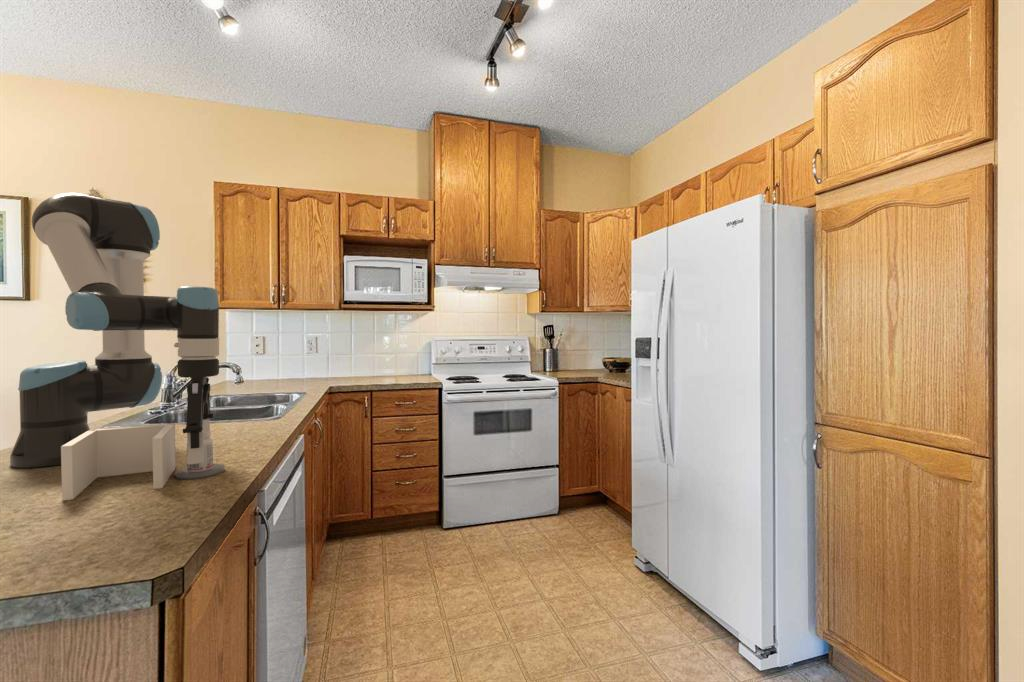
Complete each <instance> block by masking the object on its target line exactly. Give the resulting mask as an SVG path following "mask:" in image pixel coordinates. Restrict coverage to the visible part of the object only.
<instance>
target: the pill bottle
mask: <svg viewBox="0 0 1024 682" xmlns="http://www.w3.org/2000/svg"><path fill="white" fill-rule="evenodd" d="M202 431H203V440H204V462H203V463H196V464H188V459H187V458H186V467H187V470H188V471H189V472H201V471H206V470H210V469H212V468H213V464H214V445H213V443H214V442H213V438H211V429H210V430H208V429H203V430H202ZM209 437H210V438H209Z"/></svg>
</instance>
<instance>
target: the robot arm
mask: <svg viewBox="0 0 1024 682" xmlns="http://www.w3.org/2000/svg"><path fill="white" fill-rule="evenodd" d="M158 222H159V221H158V218H157V217H156V215H155V214H154V213H153V211H152V210H151V209H149V208H148V207H147V206H144V205H139V204H135V203H133V202H129V201H122V200H117V199H116V200H114V199H110V198H104V197H99V196H91V195H87V194H84V193H77V192H68V193H67V192H65V193H59V194H56V195H53V196H50V197H48V198H45V199H44V200H43V201H41V202H40V203H39V205H37V207H36V208H35V210H34V211H33V212H32V217H31V225H32V230H33V232H34V234H35V236H36V238H37V239H38V240H39V241H40V242H41V243H42V244H44V245H46V246H47V247H48V249H49V251H50V253H51V255H52V257H53V258H54V260H55V262H56V264H57V266H58V269H59V271H60V273H61V275H62V277H63V278H64V280H65V282H66V285H67V287H68V288H69V290H70V292H71V293H69V295H68V296H67V297H66V301H65V308H64V309H65V311H64V312H65V315H66V321H67V324H68V325H69V326H70V327H71V328H73V329H76V330H83V331H84V330H85V331H95V332H96V331H97V332H101V331H102V351H101V352H100V353H99V354H98V355H97V356H96V357H94V364H93V365H88V363H87V361H86V360H82V359H81V360H77V359H76V360H69V361H66V360H65V361H58V362H57V361H56V362H50V363H43V364H39V365H38V364H37V365H33V366H29V367H26V368H24V369H23V370H22V371H21V372H20V375H19V380H18V381H19V383H18V388H17V390H18V391H19V421H20V422H19V423H20V426H19V427H20V429H19V430H20V431H19V434H18V437H17V439H16V442H15V443H14V446H13V449H12V451H11V454H9V455H10V456H9V461H10V462H9V463H10V464H9V465H10V466H11V467H13V468H21V469H23V468H24V469H26V468H28V469H30V468H42V467H43V468H44V467H52V466H59V465H61V446H63V445H64V444H66V443H68V442H69V441H71V440H73V439H75V438H76V437H78V436H80V435H81V434H83V433H85V432H86V431H88V430H91V428H90V426H89V424H88V413H91V412H100V411H106V410H107V411H108V410H118V409H123V408H124V409H125V408H130V409H133V408H136V407H141V406H147V405H149V404H152V403H153V402H154V401H156V398H157V397H158V395H159V394H160V391H161V388H162V381H163V374H162V371H161V367H160V364H158V363H157V362H154V361H153V357H152V354H150V353H148V352H147V351H146V350H145V348H146V347H145V346H146V344H145V331H173V332H175V331H176V332H177V333H176V334H177V335H176V339H177V342H175V343H173V347H174V348H178V349H177V357H179V358H181V359H178V360H177V376H178V377H180V378H186V379H187V378H190V383H188V384H187V386H186V394H187V398H186V399H187V400H186V401H187V403H186V406H187V407H186V423H185V425H186V426H185V428H183V429H182V433H183V434H186V435H187V436H186V437H187V440H186V460H187V459H188V464H196V463H203V462H204V440H203V431H202V430H203V429H208V430H210V431H211V423H210V422H211V421H210V419H214V413H212V411H211V405H210V399H211V398H210V397H211V393H210V392H211V383H209V381H210V378H209V377H216V376H218V375H219V374H220V360H219V359H218V358H217V357H219V356H220V337H219V332H220V331H219V330H220V329H219V328H220V326H219V323H220V322H219V319H220V317H219V315H220V312H219V311H220V310H219V309H220V303H219V293H218V290H217V289H215V288H213V287H207V286H186V285H185V286H184V285H183V286H179V287H178V288H177V290H176V296H161V295H160V296H158V295H157V296H156V295H145V291H144V290H145V289H144V283H145V281H144V262H145V261H146V260H147V259H148V258H149V257H151V251H155V250H156V249H157V248H158V247H159V244H160V243H159V242H160V240H161V239H160V238H161V234H160V233H161V231H160V226H159V223H158ZM209 438H211V436H210V437H209Z"/></svg>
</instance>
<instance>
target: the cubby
mask: <svg viewBox="0 0 1024 682" xmlns="http://www.w3.org/2000/svg"><path fill="white" fill-rule="evenodd" d="M176 458H177V457H176V423H163V424H162V423H161V424H149V425H137V426H123V427H122V426H121V427H110V428H98V429H90V430H88V431H86V432H85V433H83V434H81V435H80V436H78V437H76V438H75V439H73V440H71V441H69V442H68V443H66V444H64V445H63V446H61V464H60V465H61V466H60V467H61V500H62V501H63V502H64V501H70V500H71V501H72V500H74V499H75V498H76V497H77V496H78V495H80V493H82V492H83V491H84V490H85V489H86V488H87V487H88V486H89V485H91V484H92V483H93V481H95V480H96V479H98V478H105V477H113V476H122V475H133V474H140V473H149V472H152V479H153V480H152V481H153V483H152V486H153V487H152V488H153V490H156V489H157V490H159V489H163V488H164V487H165V485H166V484H167V482H168V480H169V478H170V477H171V476H172V474H173V472H174V471H175V469H176V467H177V466H176V464H177V463H176V461H177V460H176Z"/></svg>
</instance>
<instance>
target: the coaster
mask: <svg viewBox="0 0 1024 682" xmlns="http://www.w3.org/2000/svg"><path fill="white" fill-rule="evenodd" d="M223 472H225V465H224V464H223V463H213V468H212V469H210V470H206V471H201V472H189V471H188V470H187V466H186V467H183V468H180V469H177V470H176V471H175V472H174V477H175V479H177V480H183V481H184V480H186V481H187V480H188V481H189V480H190V481H191V480H199V479H200V480H201V479H207V478H211V477H215V476H217V475H220V474H222V473H223Z"/></svg>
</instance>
